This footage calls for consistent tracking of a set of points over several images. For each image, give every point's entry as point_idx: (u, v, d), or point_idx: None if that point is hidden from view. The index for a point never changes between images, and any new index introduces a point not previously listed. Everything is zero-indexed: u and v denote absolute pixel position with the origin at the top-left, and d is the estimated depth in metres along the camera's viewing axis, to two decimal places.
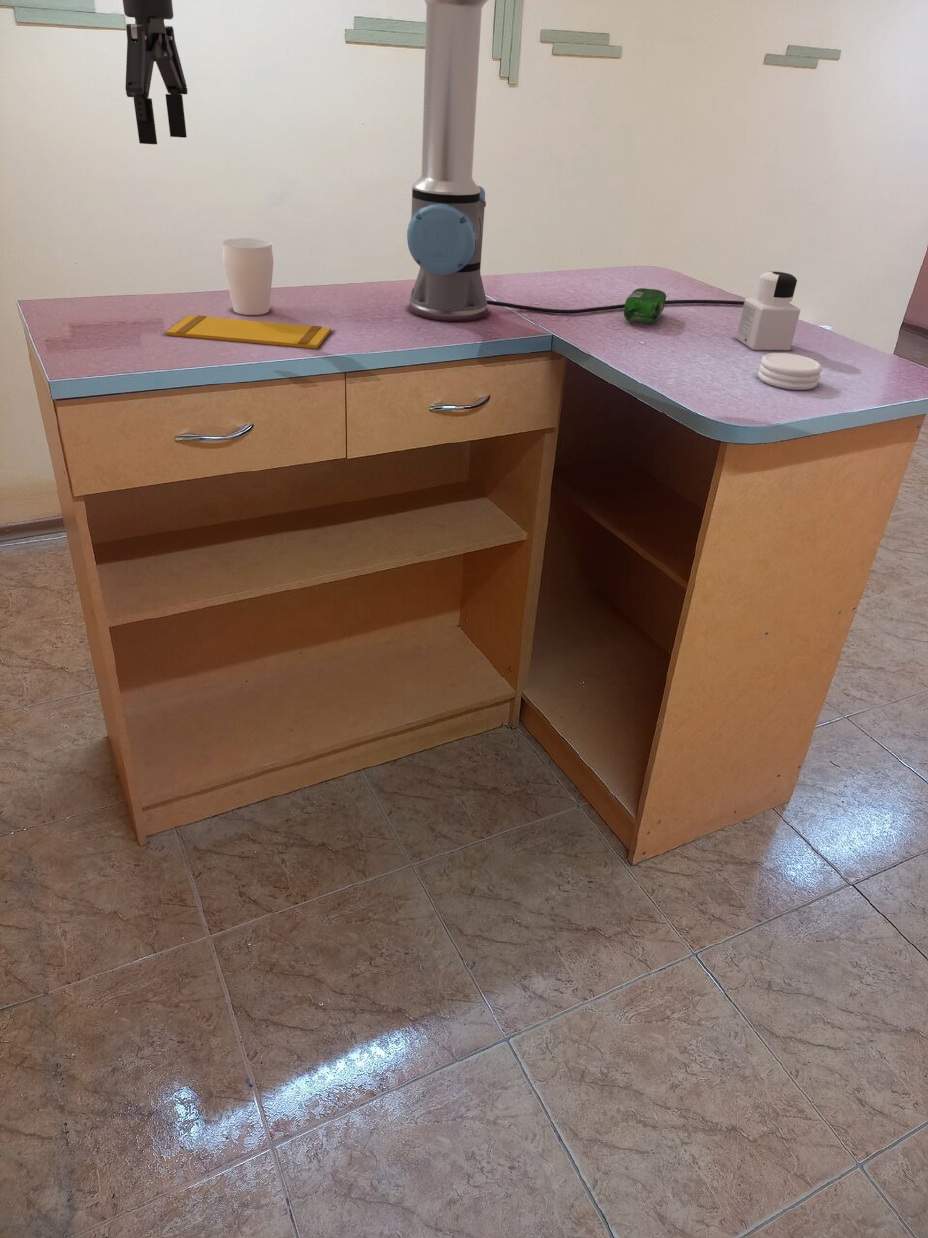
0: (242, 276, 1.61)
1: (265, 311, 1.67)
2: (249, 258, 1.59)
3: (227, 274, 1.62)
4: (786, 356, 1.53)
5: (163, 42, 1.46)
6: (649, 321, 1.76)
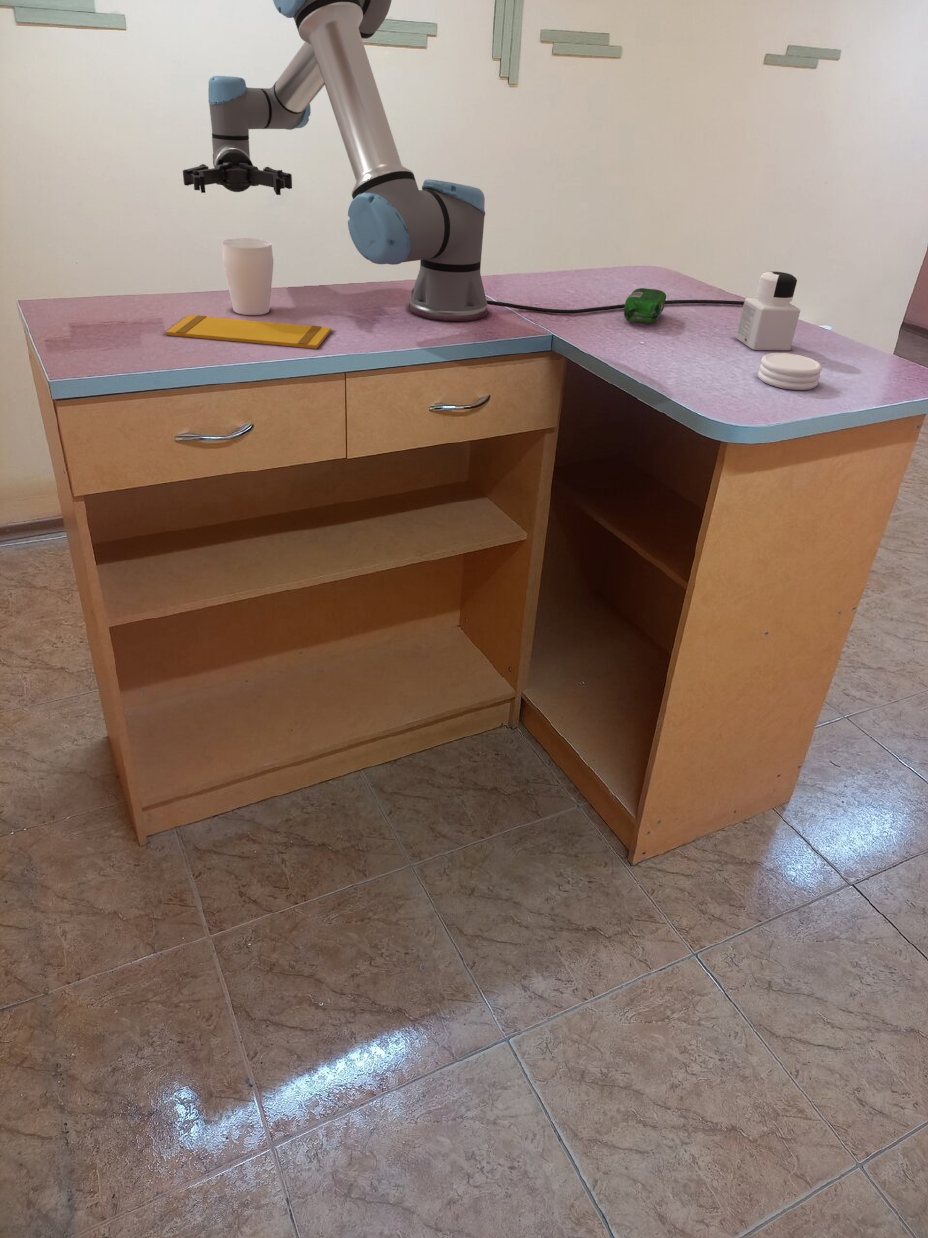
0: (242, 276, 1.61)
1: (265, 311, 1.67)
2: (249, 258, 1.59)
3: (227, 274, 1.62)
4: (786, 356, 1.53)
5: (241, 166, 1.76)
6: (649, 321, 1.76)
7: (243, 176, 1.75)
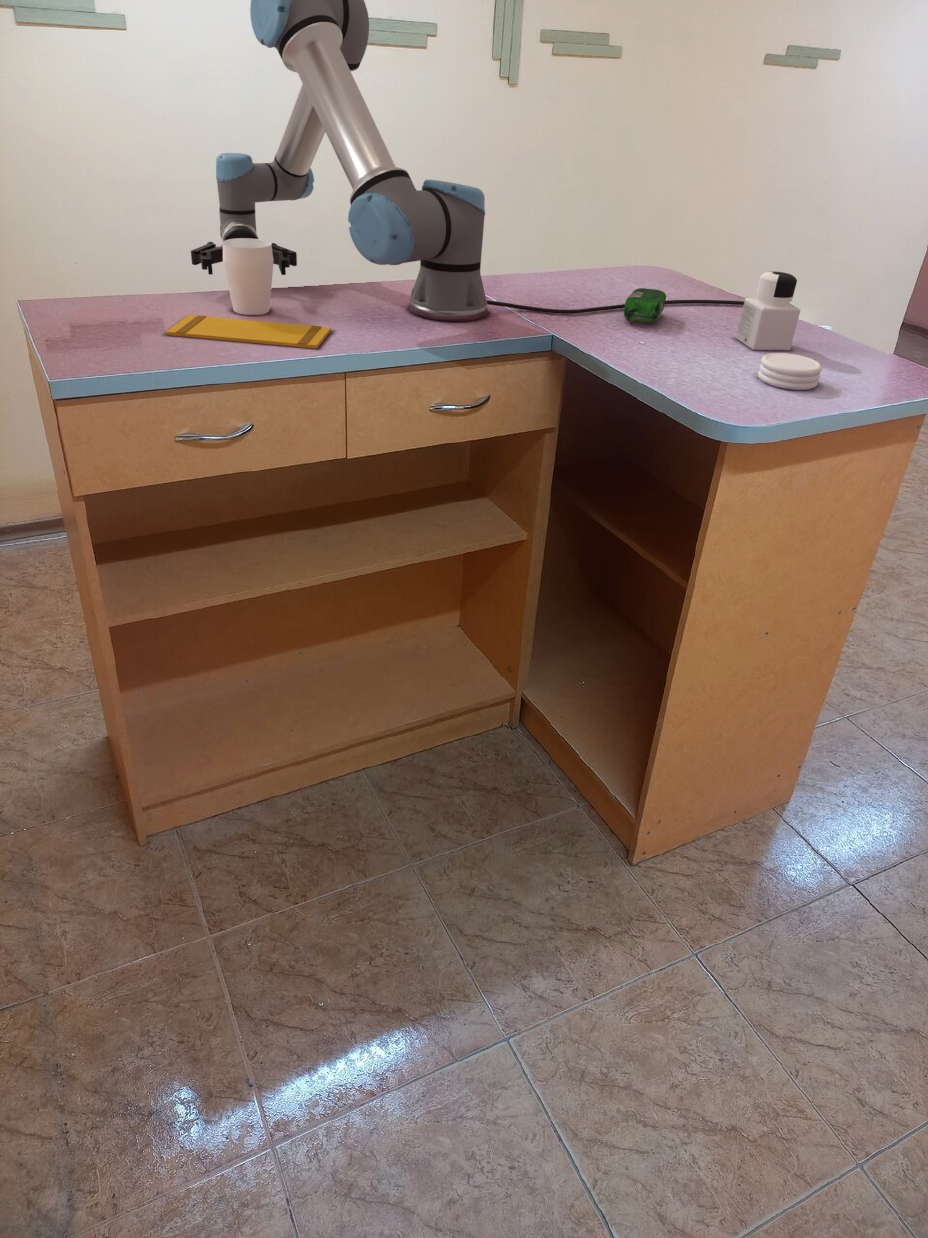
0: (242, 276, 1.61)
1: (265, 311, 1.67)
2: (249, 258, 1.59)
3: (227, 274, 1.62)
4: (786, 356, 1.53)
5: None
6: (649, 321, 1.76)
7: None
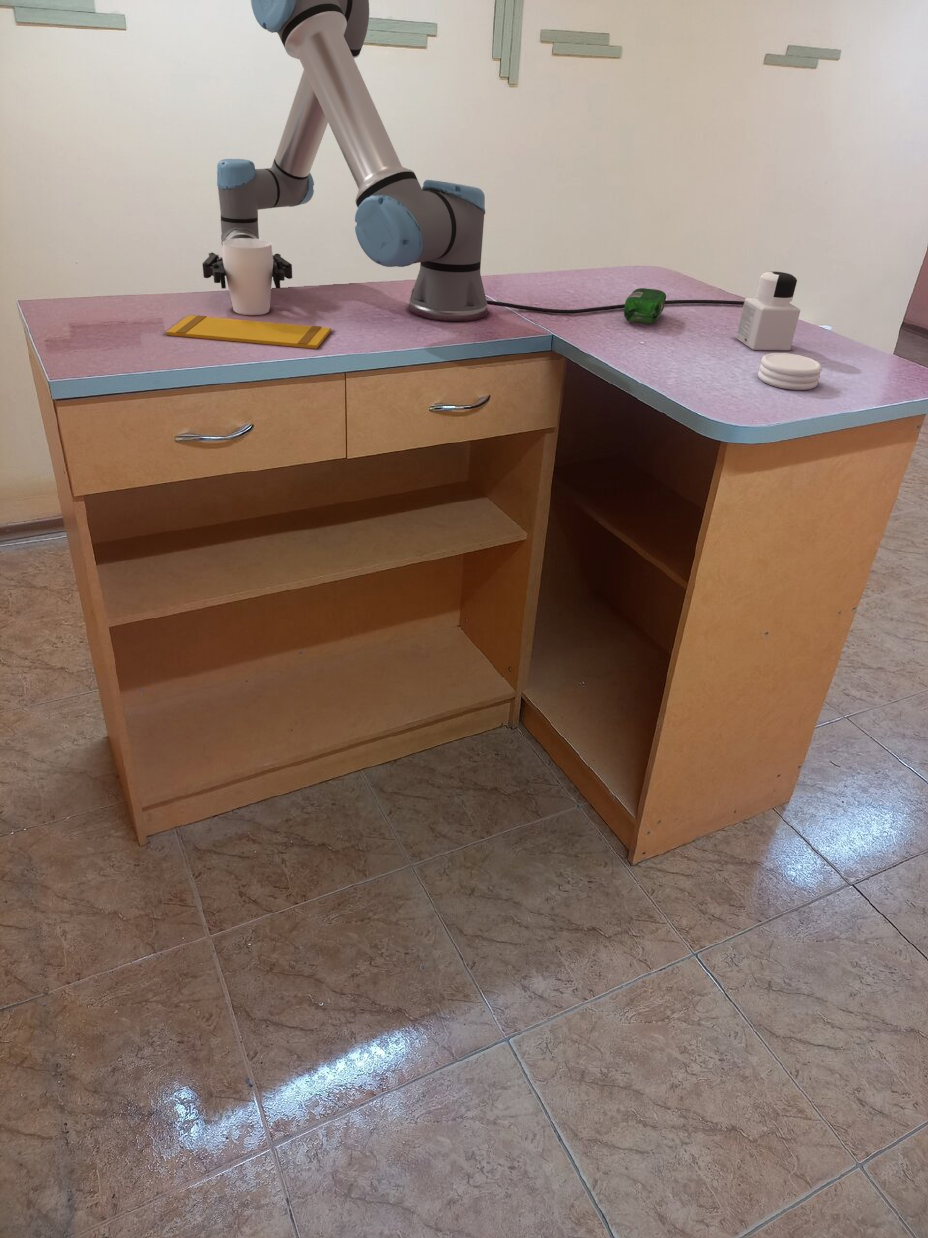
0: (242, 276, 1.61)
1: (265, 311, 1.67)
2: (248, 258, 1.59)
3: (227, 274, 1.62)
4: (786, 356, 1.53)
5: None
6: (649, 321, 1.76)
7: None
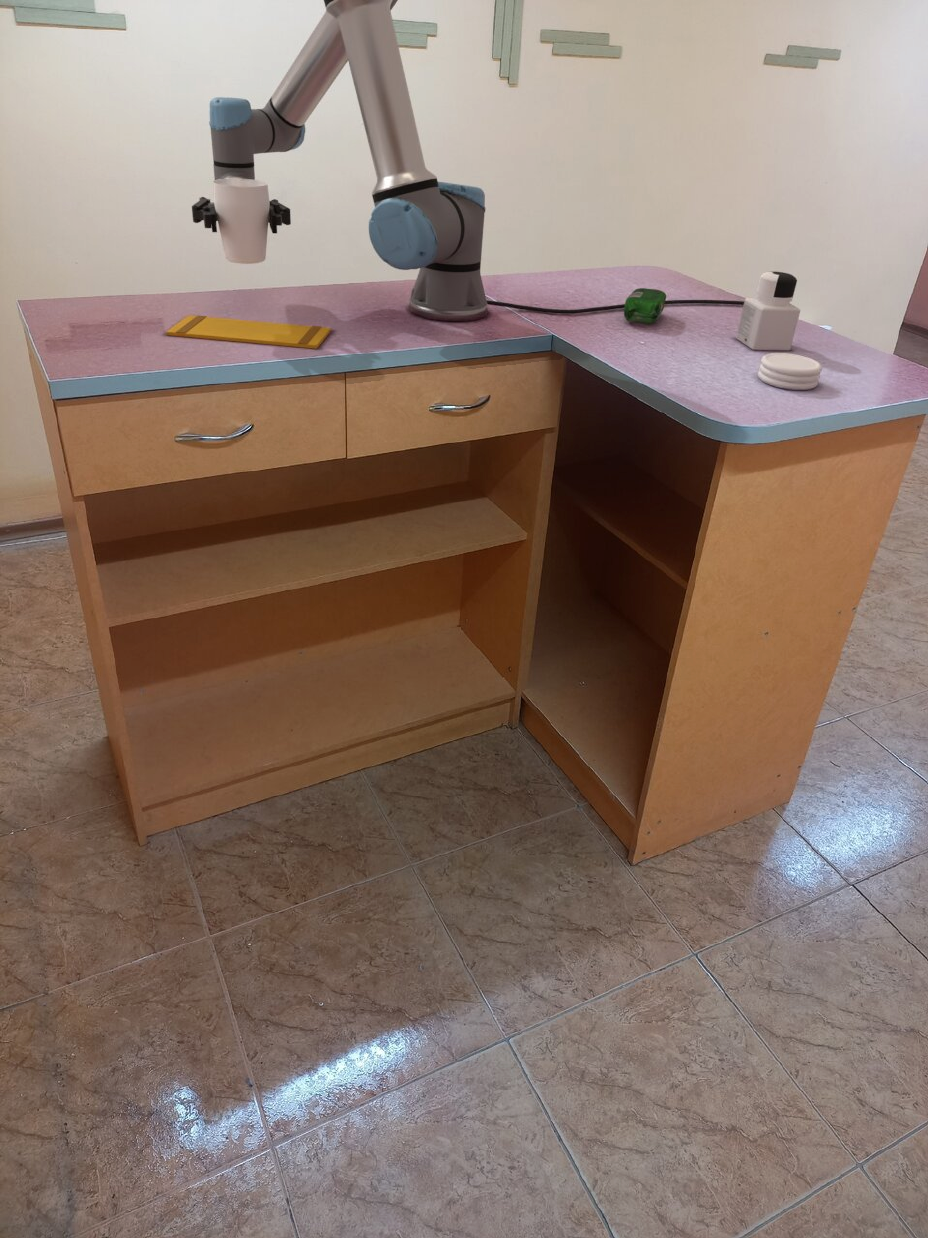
0: (235, 218, 1.46)
1: (261, 259, 1.52)
2: (242, 198, 1.44)
3: (218, 217, 1.47)
4: (786, 356, 1.53)
5: None
6: (649, 321, 1.76)
7: None
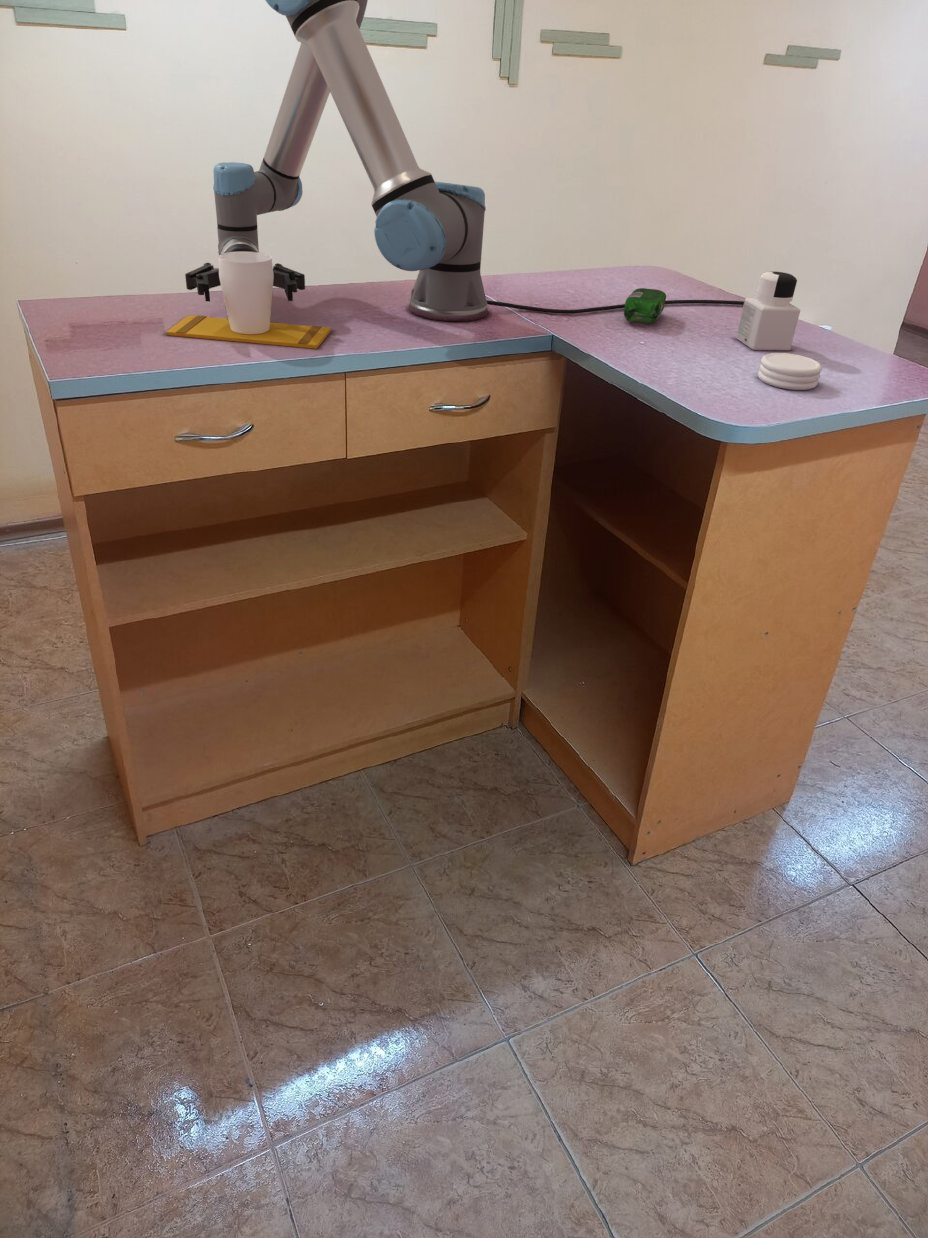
0: (240, 292, 1.49)
1: (265, 330, 1.55)
2: (247, 273, 1.47)
3: (224, 290, 1.50)
4: (786, 356, 1.53)
5: None
6: (649, 321, 1.76)
7: None
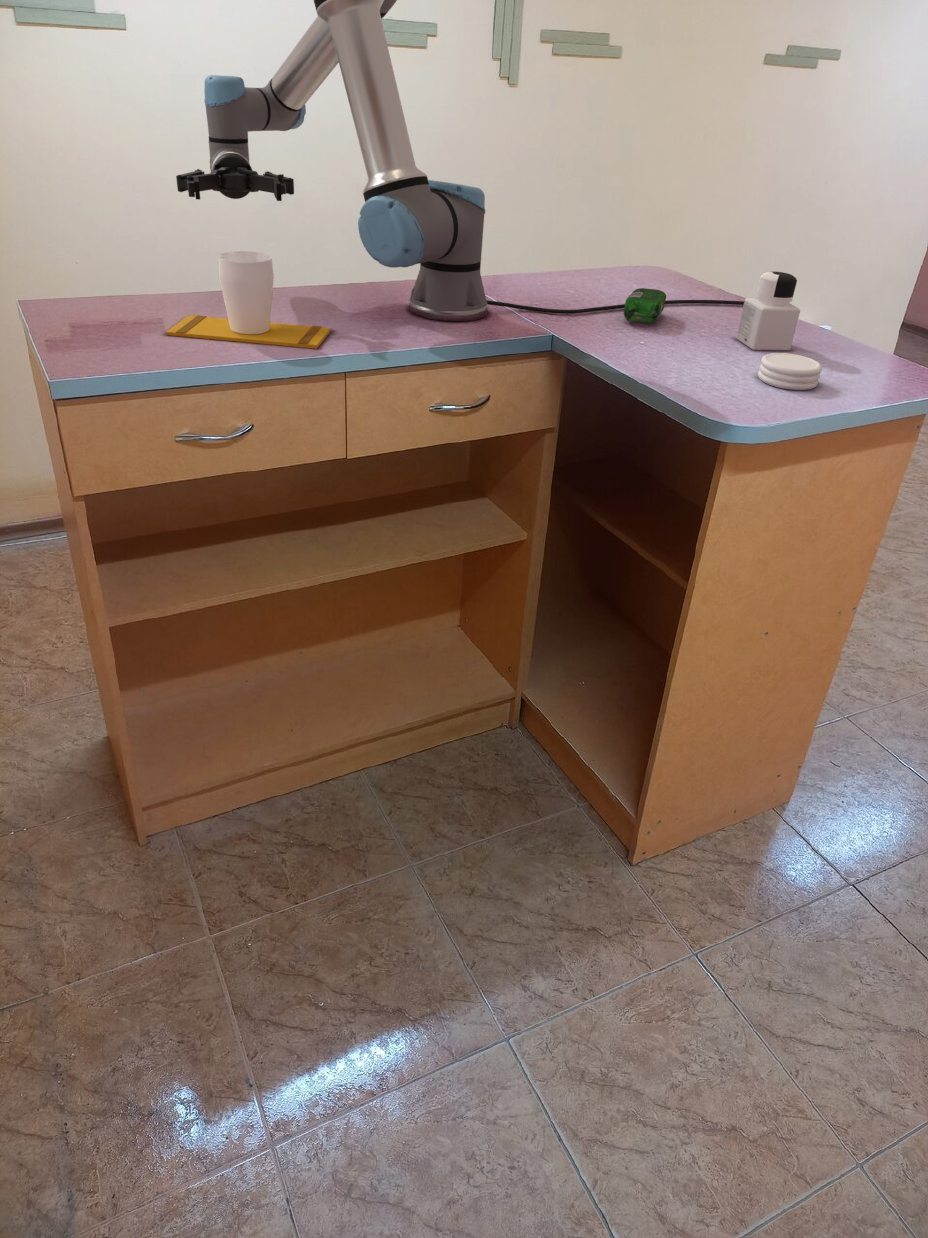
0: (240, 292, 1.49)
1: (265, 330, 1.55)
2: (247, 273, 1.47)
3: (224, 290, 1.50)
4: (786, 356, 1.53)
5: (239, 171, 1.64)
6: (649, 321, 1.76)
7: (242, 182, 1.63)
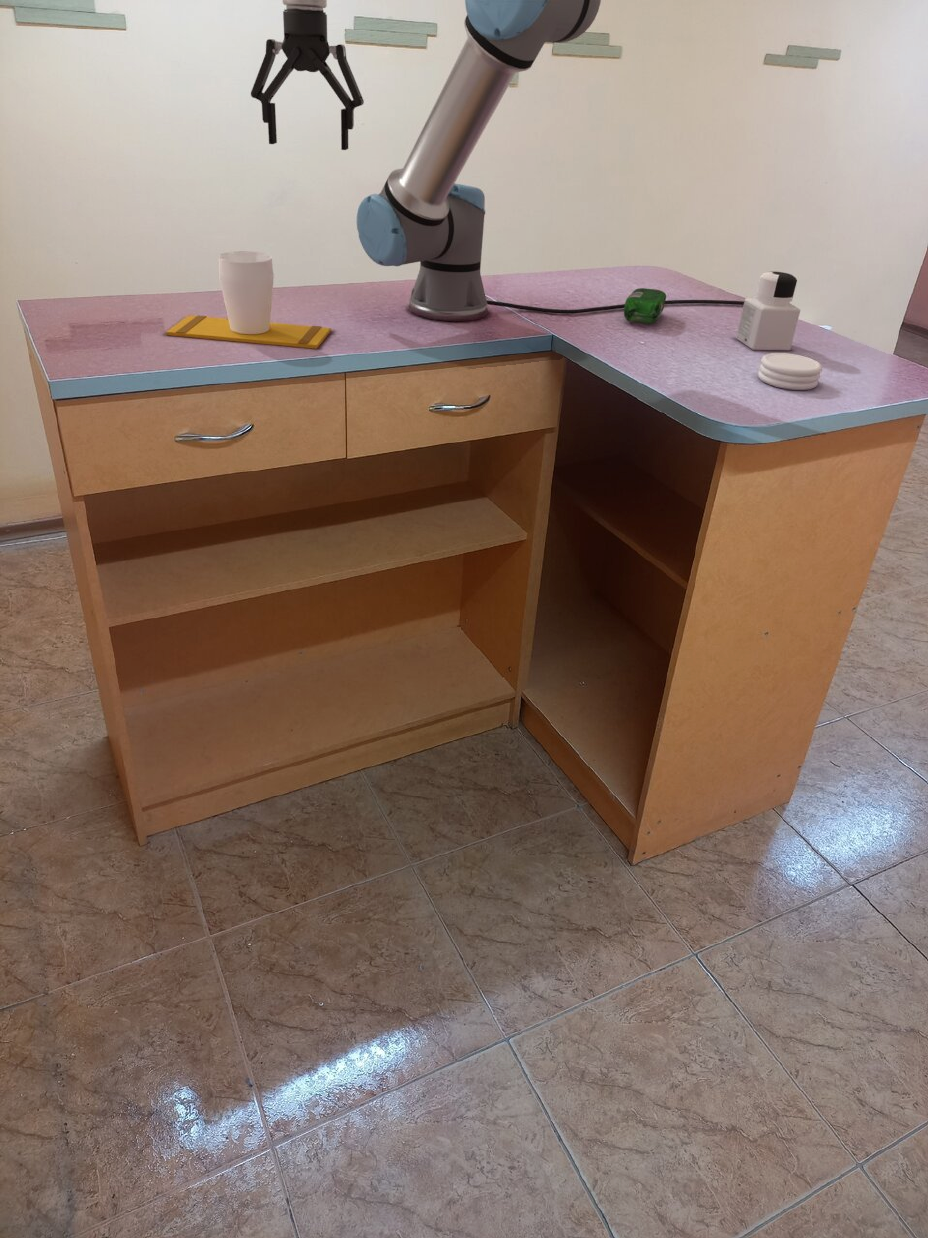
0: (240, 292, 1.49)
1: (265, 330, 1.55)
2: (247, 273, 1.47)
3: (224, 290, 1.50)
4: (786, 356, 1.53)
5: (310, 57, 1.58)
6: (649, 321, 1.76)
7: None
